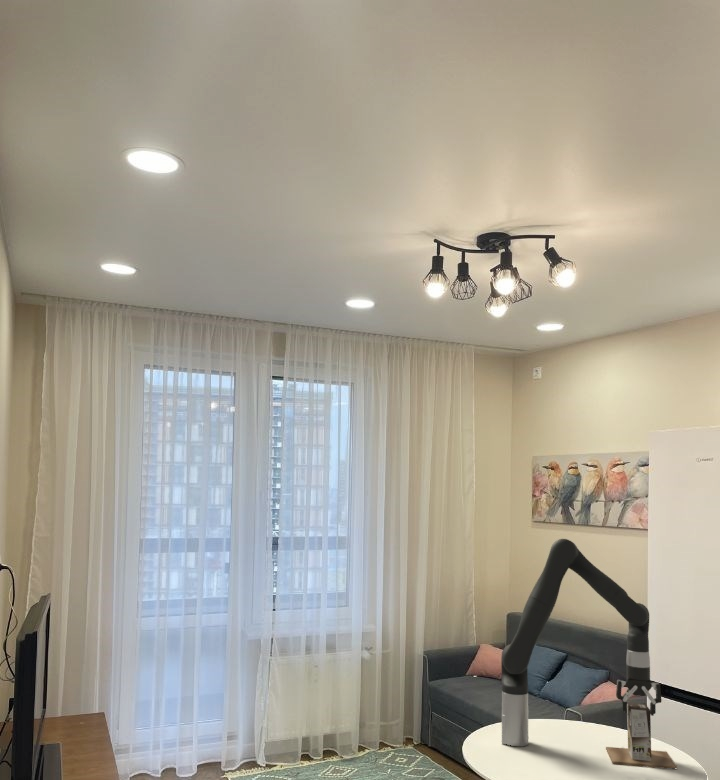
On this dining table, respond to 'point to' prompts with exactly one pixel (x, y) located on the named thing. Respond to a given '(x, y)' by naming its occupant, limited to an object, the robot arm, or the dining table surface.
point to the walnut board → (624, 758)
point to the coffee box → (639, 731)
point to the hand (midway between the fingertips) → (638, 713)
